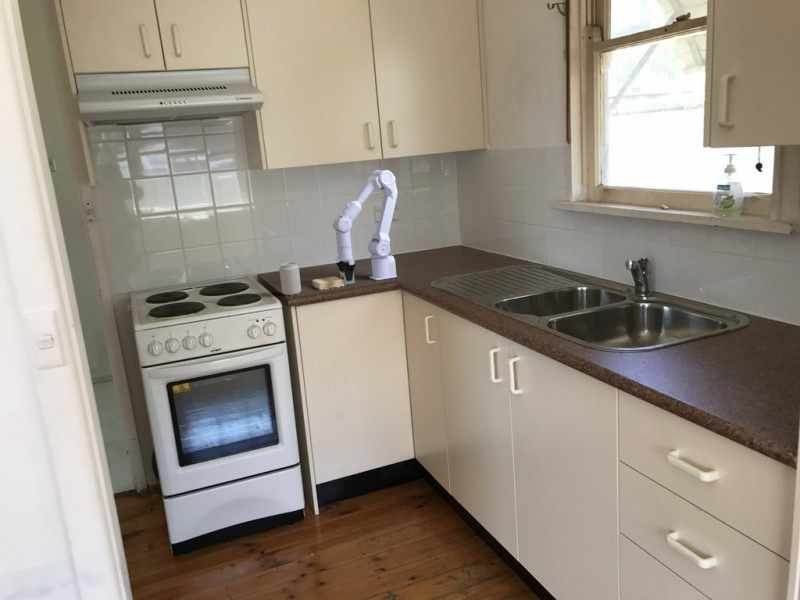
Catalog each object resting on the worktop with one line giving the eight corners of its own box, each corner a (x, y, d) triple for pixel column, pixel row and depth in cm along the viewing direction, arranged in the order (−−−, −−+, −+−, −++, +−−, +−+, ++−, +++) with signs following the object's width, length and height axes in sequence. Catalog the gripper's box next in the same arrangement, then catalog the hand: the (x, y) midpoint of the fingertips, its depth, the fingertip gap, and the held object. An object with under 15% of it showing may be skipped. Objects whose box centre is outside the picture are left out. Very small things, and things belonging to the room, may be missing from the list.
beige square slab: (336, 283, 273) (335, 276, 273) (344, 287, 265) (343, 280, 264) (312, 287, 270) (312, 279, 269) (320, 291, 261) (319, 283, 260)
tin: (351, 281, 272) (349, 269, 271) (354, 283, 268) (353, 271, 267) (340, 283, 270) (339, 271, 269) (344, 285, 266) (343, 272, 265)
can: (283, 296, 254) (279, 266, 251) (281, 293, 261) (277, 263, 258) (302, 294, 256) (299, 263, 253) (300, 290, 263) (296, 261, 260)
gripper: (329, 246, 271) (332, 278, 274) (341, 250, 258) (344, 284, 261) (345, 243, 273) (348, 276, 276) (357, 247, 260) (360, 281, 264)
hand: (347, 279), depth 269 cm, fingers closed on tin, 4 cm apart
